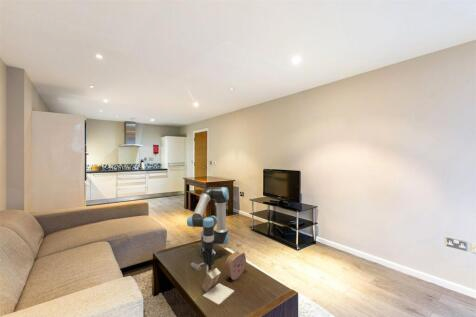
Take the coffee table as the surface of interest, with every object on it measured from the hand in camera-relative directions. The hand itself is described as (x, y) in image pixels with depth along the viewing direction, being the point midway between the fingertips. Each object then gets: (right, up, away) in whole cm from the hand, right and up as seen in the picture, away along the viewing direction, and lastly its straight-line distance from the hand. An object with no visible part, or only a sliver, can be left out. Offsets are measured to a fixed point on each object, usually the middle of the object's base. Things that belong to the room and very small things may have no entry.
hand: (208, 273), depth 145 cm
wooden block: (-1, -9, +1) cm, 9 cm away
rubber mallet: (-6, -11, +36) cm, 38 cm away
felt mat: (+8, -11, -5) cm, 14 cm away
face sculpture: (+19, -11, +16) cm, 27 cm away
